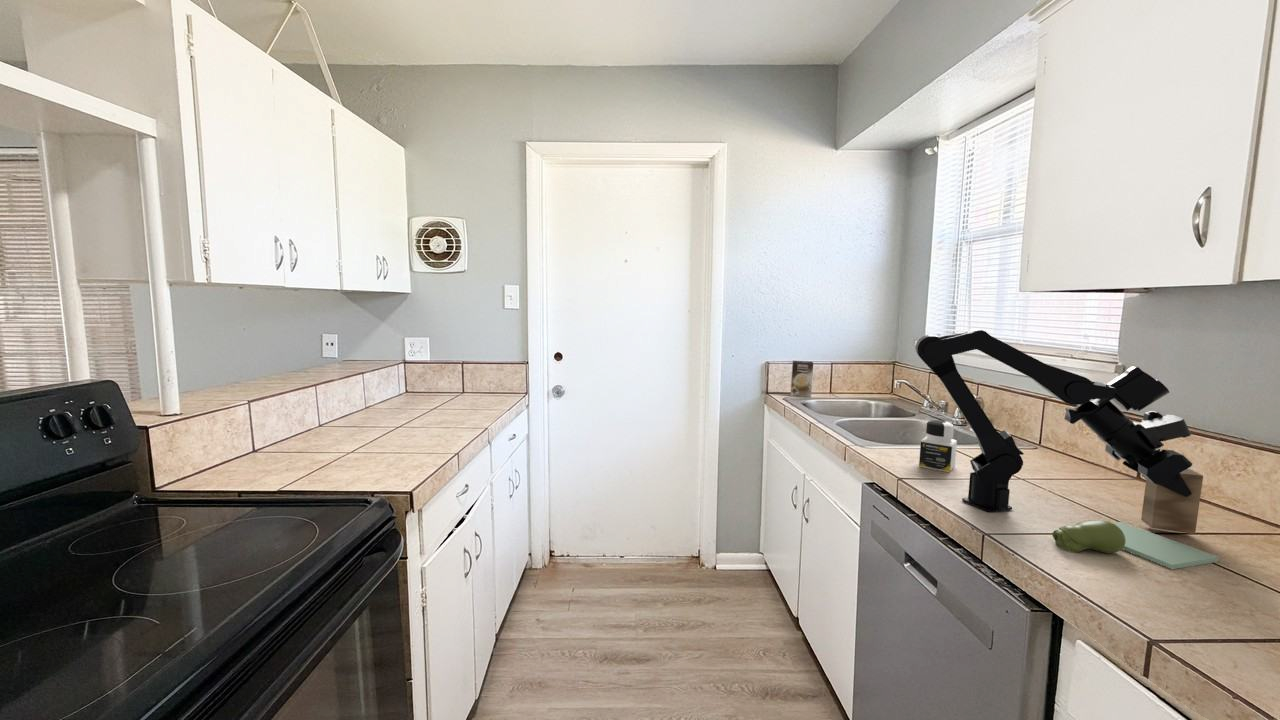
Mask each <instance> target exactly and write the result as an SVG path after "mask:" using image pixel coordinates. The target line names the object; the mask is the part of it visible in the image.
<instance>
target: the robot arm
mask: <svg viewBox="0 0 1280 720" xmlns="http://www.w3.org/2000/svg"><path fill="white" fill-rule="evenodd" d="M914 349H915V350H914V351H915V353H916V354H917V356H918V357H919V358H920V359H921V360H922V362H923V363H924V364H925V365H926V366H927V367H928V368H929V369H930V370H931V371H932V373H934V375H935V376H937V377H938V378H939V381H941V383H942V384H943V386H944V388H945V389H946V391H947V392H948V394H949V395H950V397H951V398H952V400H953V401H954V403H955V405H956V406H957V407H958V409H959V411H960V412H961V414H962V416H963V418H965V420H966V422H967V423H968V425H969V426H970V428H971V429H972V431H973V433H974V435H975V438H976V440H977V444H978V446H979V449H980V451H981V453H980V454H978V455H977V456H975V457H974V458H972V459H970V465H971V468H972V470H973V471H974V472H970V473H969V484H968V486H969V487H968V495H967V496H968V497H963V498H961V501H962V502H964V503H967V504H969V505H971V506H974V507H977V508H978V509H981V510H982V511H985V512H988V513H991V512H1000V511H1009V510H1013V506H1011V505H1010V503H1009V501H1010V492H1011V491H1010V489H1009V482H1010V480H1011V478H1012V477H1013V476H1014V475H1016V474H1018V473H1020V471H1021V470H1022V468H1023V465H1024V460H1023V458H1022V456H1023V455H1025V453H1024V452H1023V451H1022V450H1021V449H1020V448H1019V447H1018V446H1017V444H1016V442H1015V440H1014V437H1013V436H1012V434H1010V433H1009V432H1008V431H1007V430H1006V429H1003V430H1002V431H1001V432H998V430H997V429H996V428H995V426H994V425H993V423H992V421H990V419H989V417H988V416H987V414H986V412H985V411H984V410H983V408H982V407H981V405H980V403H979V402H978V400H977V399H976V397H975V396H974V394H973V393H972V391H971V390H970V389H969V387H968V385H967V384H966V382H965V380H964V379H963V378H962V375H961V374H960V373H959V370H958V368H957V365H956V363H955V359H954V355H958V354H962V353H966V352H971V351H976V350H977V351H980V352H981V353H983V354H985V355H987V356H988V357H991V358H993V359H995V360H997V361H998V362H1000V363H1002V364H1004V365H1005V366H1008V367H1009V368H1011V369H1014V370H1015V371H1017V372H1019V373H1020V374H1022V375H1025V376H1026V377H1028V378H1030V379H1031V380H1032V381H1034V382H1035V383H1036V384H1037V385H1039V386H1040V387H1041V388H1042V389H1044V390H1046V391H1047V393H1049V394H1050V395H1051V396H1053V397H1055V398H1056V399H1058V400H1060V401H1062V402H1063V403H1065V404H1067V405H1068V404H1069V405H1072V406H1075V407H1073V408H1071V407H1065V415H1064V417H1063V419H1064V420H1065V421H1066V422H1068V423H1069V424H1072V425H1073V424H1075V423H1077V422H1078V421H1080V420H1081V422H1083V423H1084V425H1086V426H1087V427H1088V428H1089V429H1090V430H1091V431H1092V432H1093V433H1095V435H1096V436H1097V439H1099V440H1100V441H1101V442H1103V443H1105V447H1104V448H1105V449H1104V450H1105V452H1106V453H1107V454H1108V455H1109V456H1110V457H1112V458H1113V459H1114V460H1116V461H1119V460H1121V459H1122V460H1123V462H1122V465H1123V466H1125V467H1126V468H1129V469H1130V470H1133V471H1134V472H1137V473H1139V474H1141V477H1142V478H1144V479H1145V480H1146V479H1147V480H1149V481H1151V482H1152V483H1154V484H1158V485H1161V486H1163V487H1165V488H1167V489H1170V490H1172V491H1174V492H1176V493H1178V494H1180V495H1183V496H1185V497H1188V496H1190V495H1191V494H1192V492H1191V491H1190V489H1189V488H1188V486H1187V484H1186V483H1185V481H1184V480H1183V478H1182V476H1181V475H1180V473H1181V472H1182V471H1184V470H1186V469H1191V467H1193V462H1192V461H1190V460H1189V459H1188V458H1187V457H1186V456H1185V455H1184V454H1181V453H1179V452H1177V451H1176V450H1173V449H1160V448H1162V447H1163V446H1165V444H1164V443H1163V442H1166V441H1170V440H1174V439H1178V438H1188V437H1190V436H1192V432H1191V431H1190V429H1189V427H1188V425H1187V422H1186V421H1185V418H1183V417H1181V416H1179V415H1175V414H1169V413H1167V414H1164V415H1162V413H1159V412H1158V411H1156V410H1150V411H1146V412H1144V413H1143V419H1142V420H1141V421H1140V422H1135V421H1133V419H1132V420H1131V419H1130V418H1129V417H1128V416H1127V415H1126V414H1125V413H1123V412H1122V411H1121V410H1120V408H1121V409H1123V410H1124V411H1126V412H1127V411H1129V410H1133V411H1135V412H1140V411H1142V410H1143V409H1145V408H1147V407H1149V406H1150V405H1151V404H1153V403H1155V402H1156V401H1159V400H1160V399H1162V398H1163V397H1165V396H1167V395H1168V394H1170V390H1169V388H1167V387H1166V385H1164V384H1163V383H1162V382H1161V381H1160V380H1158V379H1156V378H1154V377H1153V376H1152V375H1150V374H1149V373H1147V372H1145V371H1144V370H1142V369H1141V368H1140V367H1138V366H1133V365H1132V366H1130V367H1129V368H1127V369H1126V370H1124V372H1123V373H1122V374H1120V375H1118V376H1116V377H1115V378H1114V379H1112V380H1111V381H1109V382H1107V383H1103V382H1101V381H1092V380H1090V379H1089V378H1087V377H1085V376H1083V375H1079V374H1077V373H1074V372H1071V371H1068V370H1066V369H1062V368H1059V367H1056V366H1053V365H1050V364H1046V363H1044V362H1043V361H1041V360H1039V359H1037V358H1035V357H1033V356H1031V355H1029V354H1027V353H1025V352H1023V351H1021V350H1020V349H1018V348H1015V347H1014V346H1011V345H1010V344H1008V343H1006V342H1004V341H1002V340H1000V339H998V338H996V337H995V336H993V335H990V334H989V332H987V331H986V330H982V329H978V328H977V329H971V330H969V331H965V332H960V333H953V334H947V335H943V336H938V335H934V334H925V335H923V336H921V337H920V338H918V340H917V341H916V343H915V347H914ZM1112 401H1113V402H1114V403H1115V404H1116V405H1117V406H1119V407H1120V408H1118V407H1117V406H1116V405H1115V404H1114V403H1112Z"/></svg>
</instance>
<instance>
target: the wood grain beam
mask: <svg viewBox="0 0 1280 720" xmlns="http://www.w3.org/2000/svg"><path fill="white" fill-rule="evenodd" d="M1180 475H1181V476H1182V478H1183V480H1184V481H1185V483H1186V484H1187V486H1188V488H1189V489H1190V491H1191V492H1192V494H1191V495H1190V496H1188V497H1185V496H1183V495H1180V494H1178V493H1176V492H1174V491H1172V490H1170V489H1167V488H1165V487H1163V486H1161V485H1158V484H1154V483H1152V482H1151V481H1149V480H1147V479H1146V478H1145V486H1144V487H1145V488H1144V495H1143V503H1142V510H1141V511H1142V512H1141V519H1140V520H1141V521H1142V522H1144V523H1145V524H1146V525H1147V526H1148V527H1149V528H1151V529H1156V530H1165V531H1168V532H1169V531H1171V532H1177V533H1185V534H1191V535H1196V530H1197V525H1198V524H1197V523H1198V516H1199V508H1200V502H1201V496H1202V495H1201V494H1202V489H1203V480H1204V475H1203V474H1201V473H1199V472H1197V471H1194V470H1193V469H1191V468H1188V469H1186V470H1184V471H1182V472H1181V473H1180Z"/></svg>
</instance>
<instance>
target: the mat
mask: <svg viewBox="0 0 1280 720" xmlns="http://www.w3.org/2000/svg"><path fill="white" fill-rule="evenodd" d="M1112 523H1113V524H1115V525H1116V526H1118V527H1119V528H1120V529H1121V530H1122V532H1123V533H1124V536H1125V540H1126V542H1125V546H1124V547H1123V549H1124V550H1126V551H1125V552H1127V551H1129V552H1132V553H1134V554H1136V555H1135V556H1137V555H1139V556H1141V557H1140V558H1142V557H1144V558H1146V559H1145V560H1147V559H1149V560H1151V561H1150V562H1152V561H1153V562H1152V563H1154V562H1156V563H1155V564H1157V563H1158V564H1157V565H1159V564H1160V565H1159V566H1162V565H1163V566H1162V567H1164V566H1166V567H1165V568H1167V567H1168V568H1167V569H1169V568H1170V570H1171V569H1172V570H1177V568H1178V569H1183V568H1189V567H1193V566H1194V567H1195V566H1199V565H1200V566H1201V565H1205V564H1212V563H1213V564H1214V563H1218V562H1219V561H1220V560H1219V559H1220V557H1219V556H1218V555H1214V554H1212V553H1210V552H1206V551H1203V550H1200V549H1198V548H1195V547H1192V546H1189V545H1188V544H1187V545H1186V544H1184V543H1181V542H1179V541H1175V540H1173V539H1170V538H1167V537H1164V536H1161V535H1159V534H1156V533H1154V532H1153V533H1152V532H1150V531H1147V530H1145V529H1142V528H1141V527H1140V528H1139V527H1138V526H1134V525H1130V524H1128V523H1126V522H1123V521H1118V522H1112ZM1124 550H1123V551H1124ZM1129 552H1128V553H1129ZM1132 553H1131V554H1132ZM1134 554H1133V555H1134ZM1139 556H1138V557H1139ZM1144 558H1143V559H1144ZM1149 560H1148V561H1149Z"/></svg>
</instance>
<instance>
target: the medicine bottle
mask: <svg viewBox="0 0 1280 720" xmlns="http://www.w3.org/2000/svg"><path fill="white" fill-rule="evenodd" d="M954 429H955V427H954V425H953V423H952V422H950V421H945V420H938V419H937V420H936V419H935V420H934V419H933V420H930V421H927V422H926V431H925V434H926V436H925V437H924V438H922V439H921V440H920V447H919V448H920V449H919V461H918V462H919V463H918V466H919V467H921V468H924V469H930V470H935V471H940V472H945V473H951V472H952V470H953V469H954V468H955V466H956V460H957V459H956V456H957V445H958V440H956V439H954Z"/></svg>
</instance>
